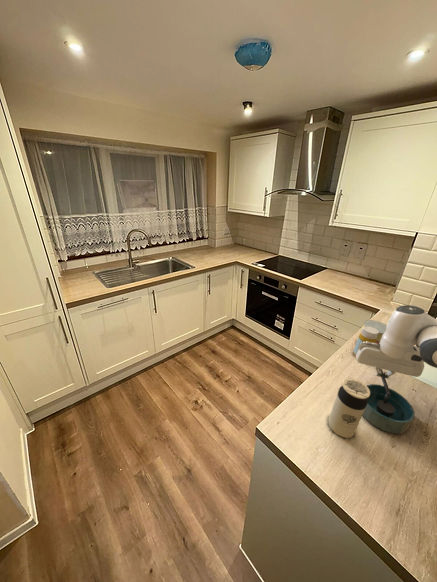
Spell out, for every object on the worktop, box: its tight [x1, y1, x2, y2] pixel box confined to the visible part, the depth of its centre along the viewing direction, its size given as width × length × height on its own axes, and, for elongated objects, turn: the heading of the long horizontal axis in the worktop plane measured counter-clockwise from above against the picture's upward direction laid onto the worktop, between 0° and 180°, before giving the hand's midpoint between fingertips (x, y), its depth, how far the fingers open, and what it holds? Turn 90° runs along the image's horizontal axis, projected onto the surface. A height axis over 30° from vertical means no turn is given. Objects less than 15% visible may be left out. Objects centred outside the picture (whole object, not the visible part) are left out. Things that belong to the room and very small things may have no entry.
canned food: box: [360, 319, 387, 344], centre depth 115 cm, size 11×11×12 cm
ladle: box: [376, 368, 395, 417], centre depth 85 cm, size 5×17×7 cm, turn 159°
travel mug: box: [327, 377, 370, 439], centre depth 74 cm, size 8×8×18 cm
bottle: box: [352, 326, 379, 357], centre depth 108 cm, size 7×7×15 cm
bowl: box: [362, 383, 416, 434], centre depth 82 cm, size 15×15×6 cm
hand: (381, 376), depth 89 cm, fingers closed on ladle
